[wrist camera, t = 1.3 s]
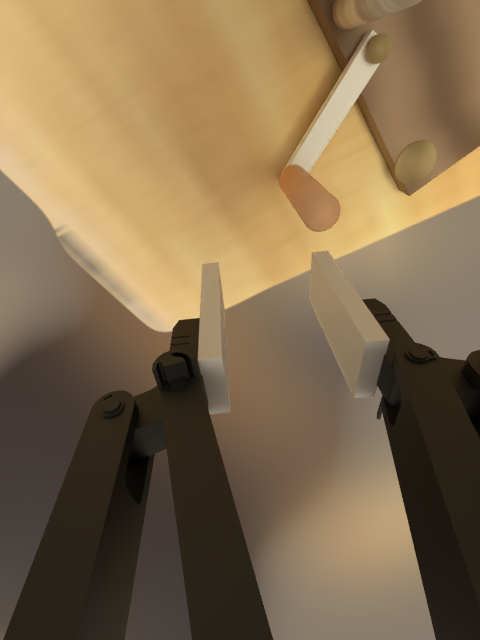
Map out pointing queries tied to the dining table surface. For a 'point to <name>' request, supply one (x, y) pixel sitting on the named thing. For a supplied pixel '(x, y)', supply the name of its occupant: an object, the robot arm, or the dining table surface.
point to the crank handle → (324, 145)
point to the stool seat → (413, 78)
